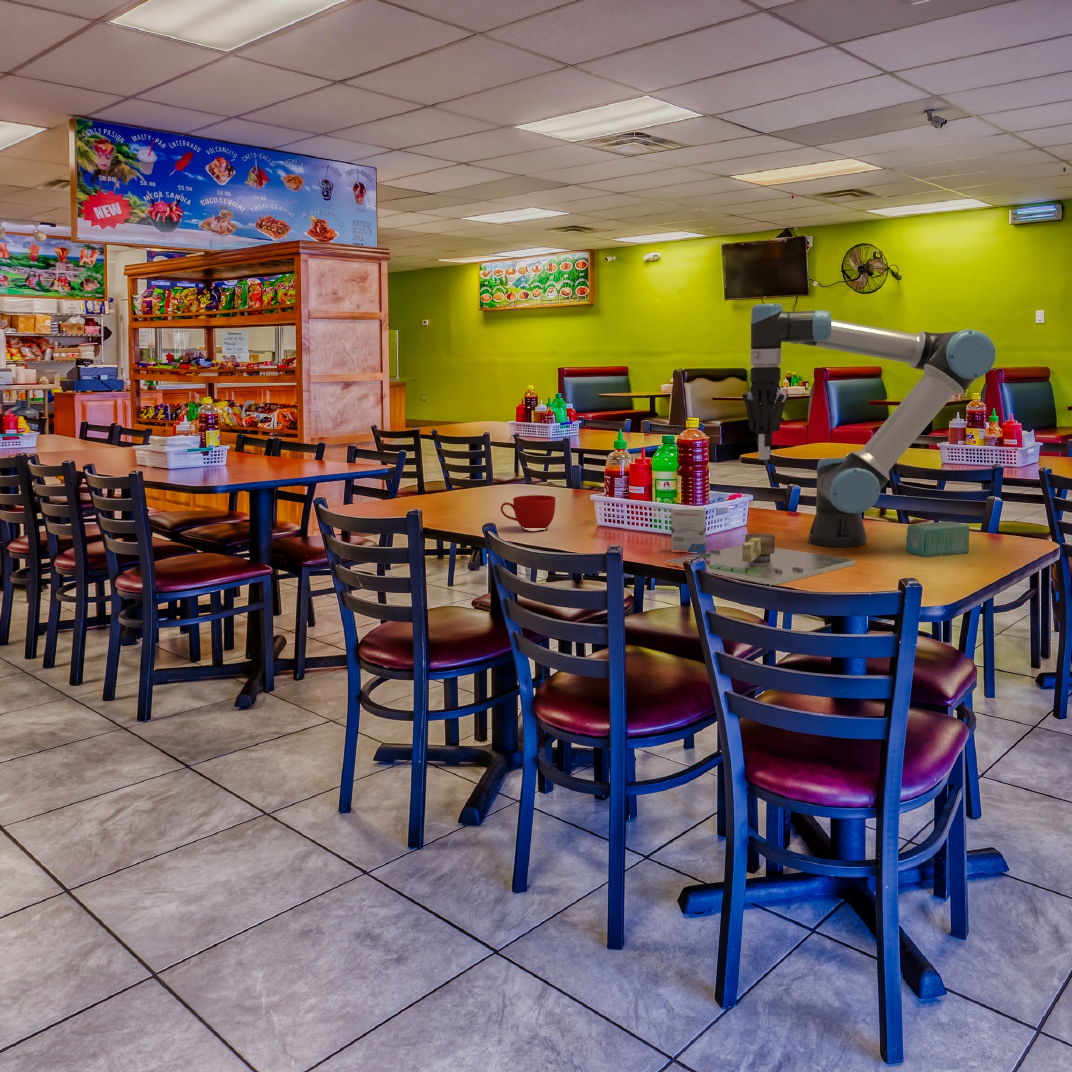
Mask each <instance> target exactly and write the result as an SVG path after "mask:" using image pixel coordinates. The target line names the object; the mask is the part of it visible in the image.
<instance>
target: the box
mask: <svg viewBox="0 0 1072 1072" xmlns="http://www.w3.org/2000/svg"><path fill="white" fill-rule="evenodd" d="M905 540H906V542H905V543H906V553H909V554H912V555H916V556H920V557H924V558H931V556H932V557H941V556H940V555H943V556H951V554H953V555H960V554H968V553H969V549H970V547H969V543H970V525H969V524H965V523H960V522H956V521H952V520H951V521H948V520H947V521H939V522H937V521H936V522H927V523H917V524H909V525H908V526H907V529H906V538H905Z"/></svg>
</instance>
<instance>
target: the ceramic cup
mask: <svg viewBox="0 0 1072 1072" xmlns="http://www.w3.org/2000/svg"><path fill="white" fill-rule="evenodd" d="M512 500H513V503H511V502H506V501H505V502H503V503H502V504H501V506H500V512H501V514H502V515H503V517H506V518H507V519H509V520H512V521H515V522H518V524H519V526H520V527H521V528H522V527H524V528H546V527H547V528H548V527H549V526H550V525H551V523H552V522H553V519H554V517H555V512H556V511H555V510H556V497H555V496H553V495H543V494H532V495H520V496H515V497H513V498H512ZM504 506H510V507H511V508H512V509H513V511H514V516H515V517H512V516H510V515H507V513H506V512H504V509H503V508H504ZM547 528H546V529H547Z"/></svg>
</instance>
